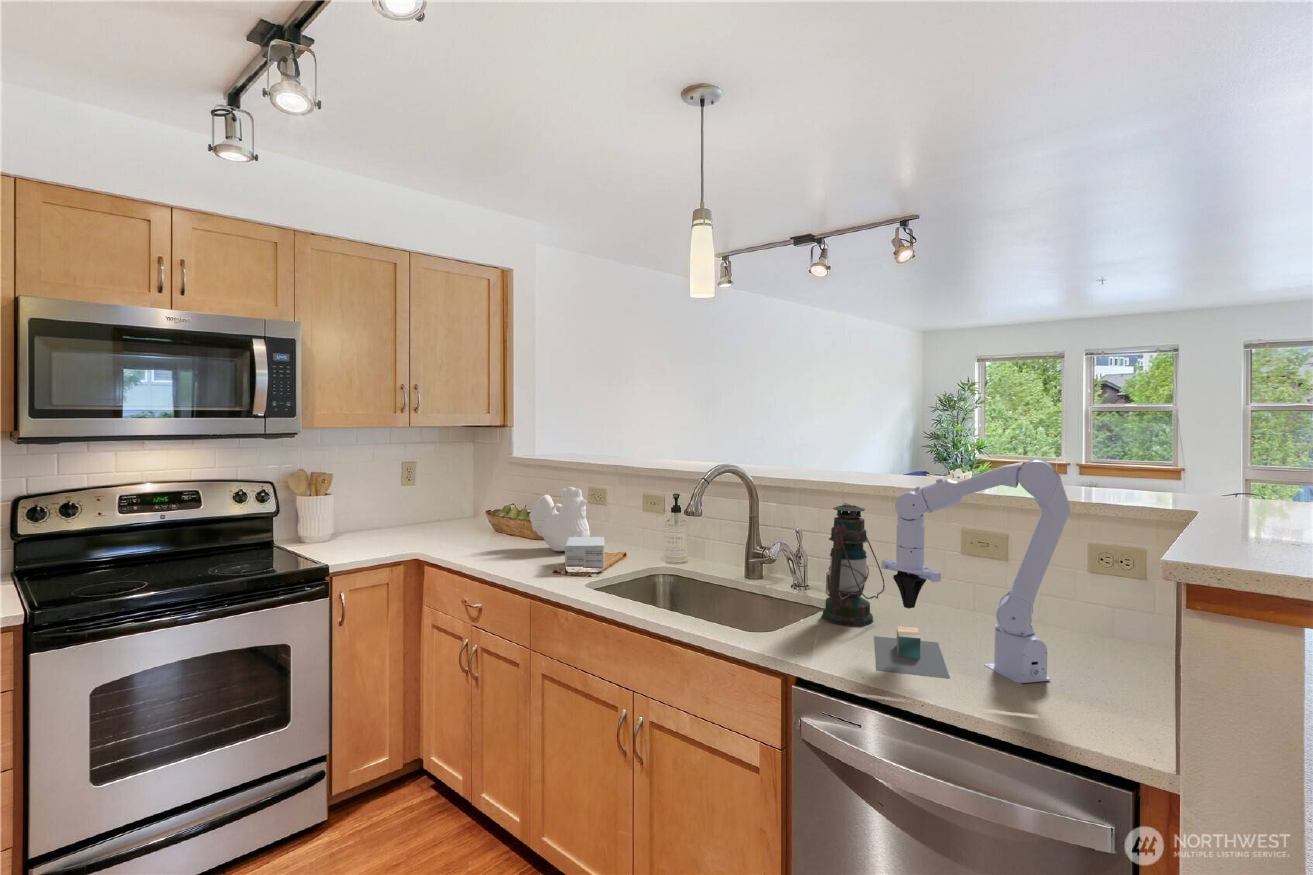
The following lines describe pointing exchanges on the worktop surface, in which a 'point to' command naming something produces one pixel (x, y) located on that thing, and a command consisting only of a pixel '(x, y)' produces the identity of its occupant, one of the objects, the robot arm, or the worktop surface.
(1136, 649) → the worktop surface
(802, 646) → the worktop surface
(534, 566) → the worktop surface
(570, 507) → the decorative rooster
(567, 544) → the supplement box
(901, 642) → the oak block
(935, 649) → the mat
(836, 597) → the lantern
